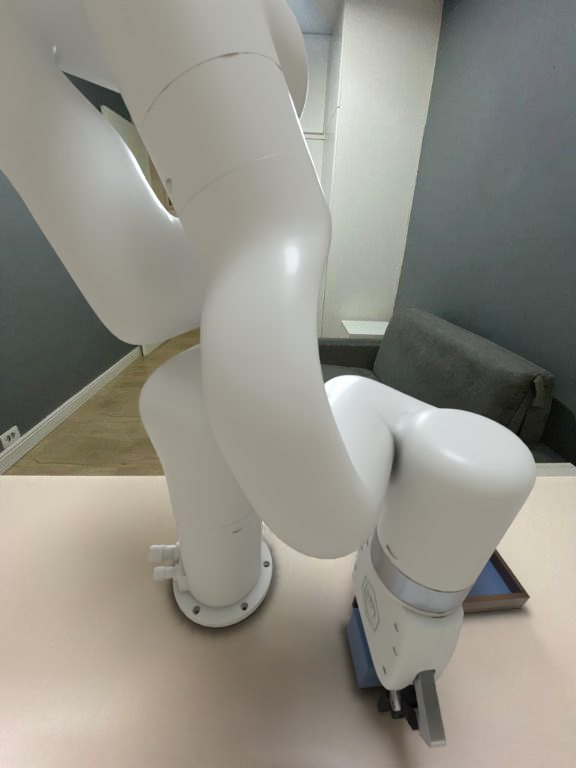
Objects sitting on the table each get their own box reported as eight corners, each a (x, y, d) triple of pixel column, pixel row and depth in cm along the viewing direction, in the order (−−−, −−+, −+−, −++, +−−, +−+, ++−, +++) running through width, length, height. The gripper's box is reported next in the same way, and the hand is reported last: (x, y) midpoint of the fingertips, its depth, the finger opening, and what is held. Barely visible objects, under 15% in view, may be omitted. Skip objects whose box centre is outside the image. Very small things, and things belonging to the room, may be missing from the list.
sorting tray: (386, 619, 37) (390, 608, 36) (357, 531, 47) (360, 520, 46) (521, 608, 39) (530, 597, 38) (466, 525, 49) (472, 515, 48)
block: (358, 688, 31) (367, 667, 29) (346, 630, 36) (353, 608, 33) (405, 683, 32) (418, 662, 29) (387, 626, 36) (397, 604, 34)
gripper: (346, 474, 32) (326, 572, 40) (428, 714, 17) (370, 788, 25) (415, 472, 33) (381, 568, 41) (553, 698, 18) (455, 775, 26)
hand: (377, 651), depth 33 cm, fingers open, 7 cm apart
